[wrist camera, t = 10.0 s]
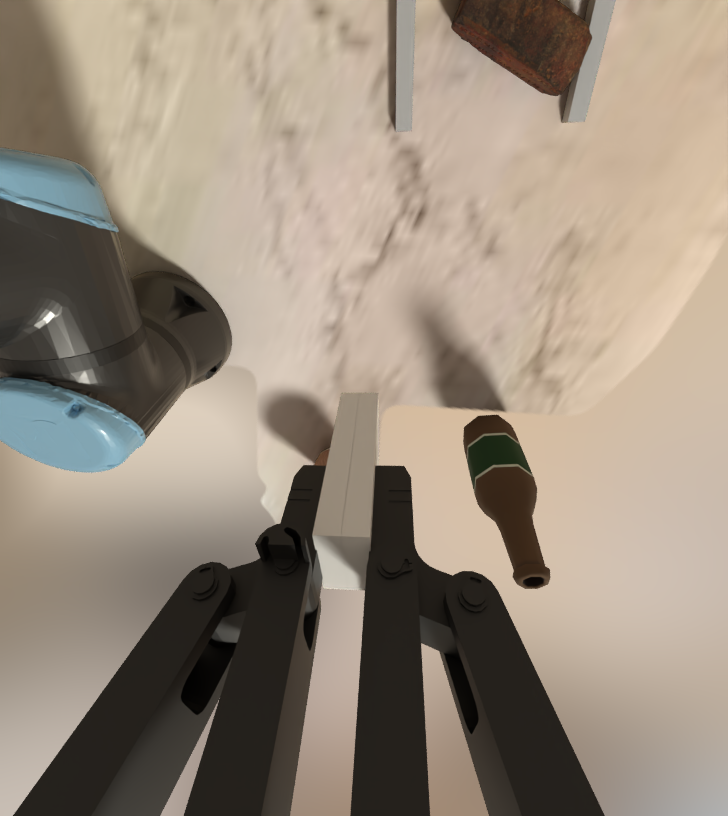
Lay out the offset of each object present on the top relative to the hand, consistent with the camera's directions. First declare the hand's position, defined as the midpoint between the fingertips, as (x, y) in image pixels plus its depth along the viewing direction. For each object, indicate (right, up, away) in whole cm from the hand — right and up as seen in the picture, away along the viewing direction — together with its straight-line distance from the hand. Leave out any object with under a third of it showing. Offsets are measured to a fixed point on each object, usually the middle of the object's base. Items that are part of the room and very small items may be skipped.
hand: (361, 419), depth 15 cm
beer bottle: (+19, -3, +42) cm, 46 cm away
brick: (+13, +32, +16) cm, 38 cm away
